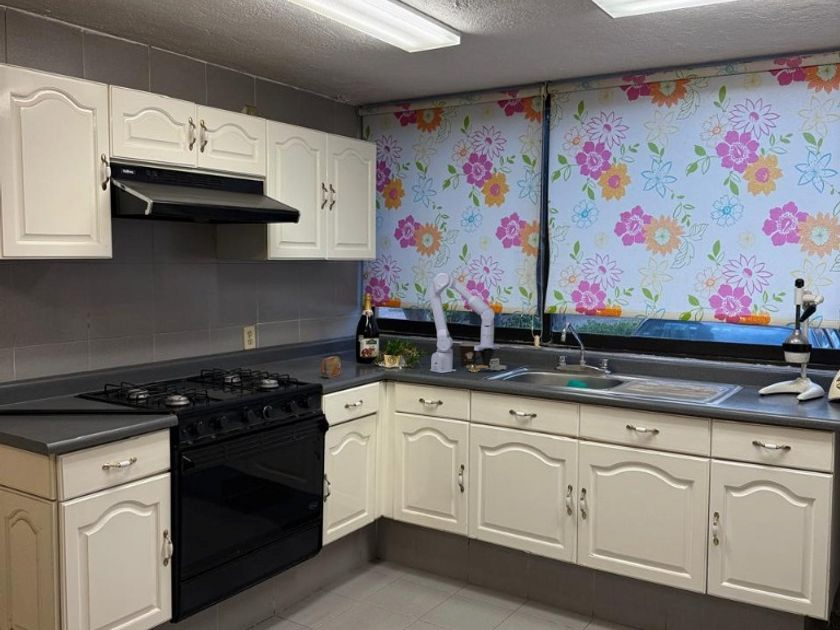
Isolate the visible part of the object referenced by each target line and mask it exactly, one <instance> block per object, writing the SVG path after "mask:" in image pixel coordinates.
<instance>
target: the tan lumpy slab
mask: <svg viewBox="0 0 840 630" xmlns="http://www.w3.org/2000/svg"><path fill="white" fill-rule="evenodd" d="M342 366H343V365H342V360H341V358H340V357H339V355H336V356H330V357H327V358H324V359H323V360H322V362H321V375H322V377H323V378H325V379H333V378H336V377H338V376H340V374H341V372H342Z"/></svg>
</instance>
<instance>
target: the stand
mask: <svg viewBox="0 0 840 630" xmlns="http://www.w3.org/2000/svg"><path fill="white" fill-rule="evenodd" d="M490 365H491V367H490V368H486V370H487V369H491V370H490V371H493V370H497V371H501V369H504V370H507V365H502V364H500V358H491V360H490Z"/></svg>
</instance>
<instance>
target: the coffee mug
mask: <svg viewBox="0 0 840 630" xmlns="http://www.w3.org/2000/svg"><path fill="white" fill-rule="evenodd" d="M477 345H478V344H475V343H460V344H459V345H458V349H459V358H460V366H461V367H463V366H466V365H470V364H475V365H476V361H477V360H478V359H481V358H482V357H481V355H480V356H478V357H477V352H478V351H476V350H474V346H477Z"/></svg>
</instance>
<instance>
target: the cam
mask: <svg viewBox="0 0 840 630" xmlns="http://www.w3.org/2000/svg"><path fill="white" fill-rule="evenodd" d="M490 367H491V365H490V364H489V366H484V364H481V365H479V364H477V365H476V363H475V364H470V365H466V367H465V368H467V369H468V372H469V371H471V372H470V373H479V372H478V371H481V369H487V368H490Z"/></svg>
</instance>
